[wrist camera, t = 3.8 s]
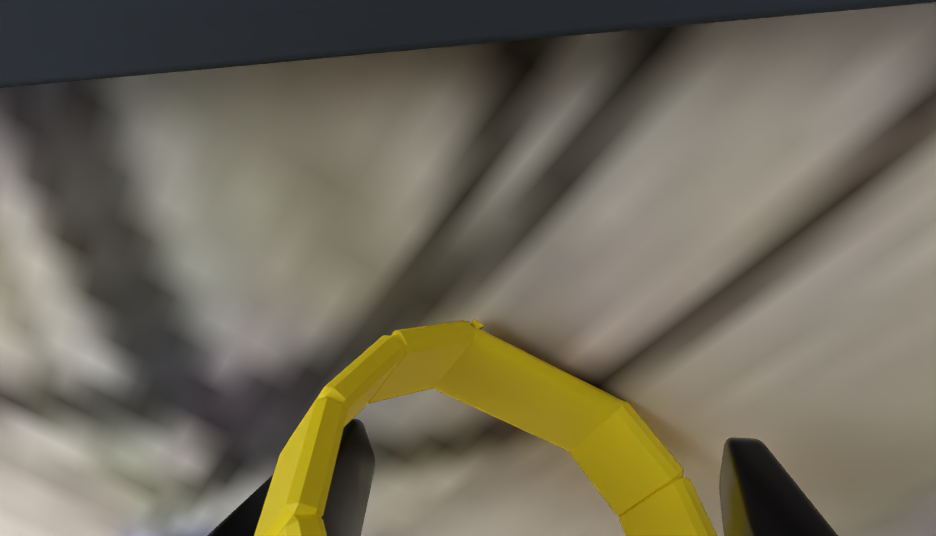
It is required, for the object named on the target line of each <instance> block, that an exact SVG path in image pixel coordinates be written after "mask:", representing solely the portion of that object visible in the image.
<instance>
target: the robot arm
mask: <svg viewBox="0 0 936 536" xmlns="http://www.w3.org/2000/svg"><path fill="white" fill-rule="evenodd" d="M374 467H375V459H374V454H373V450H372V447H371V444H370V441H369V438H368V435H367V432H366V429H365V427H364V424H363V423H362V422H361V421H360V420H357V419H352V420H351V421H350V422H349V423H348V424H347V425H346V426H345V427H344V428H343V433H342V437H341V441H340V446H339V450H338V454H337V458H336V463H335V467H334V471H333V475H332V480H331V484H330V488H329V492H328V497H327V501H326V505H325V509H324V514H323V516H322V517H321V518H322V519H323V521H324V525H325V530H326V534H327V536H361V531H362V526H363V522H364V517H365V512H366V507H367V502H368V498H369V493H370V488H371V483H372V478H373V474H374ZM272 477H273V475H272V476H271V477H270V478H269V479H268V480H267V481H266V482H265V483H264V484H263V485H262V486H260V487H259V488H258V489H257V490H256V491H255V492H254V493H253V494H252V495H251V496H250V497H249V498H247V499H246V500H245V501H244V502H243V503H242V504H241V505H240V506H239V507H238V508H237V509H236V510H234V511H233V512H232V513H231V514H230V515H229V516H228V517H227V518H226V519H225V520H224V521H223V522H221V523H220V524H219V525H218V526H217V527H216V528H215V529H214V530H213V531H212V532H211V533H210V534H209V535H207V536H254V534H255V531H256V528H257V525H258V522H259V518H260V515H261V512H262V509H263V506H264V503H265V500H266V496H267V493H268V490H269V487H270V484H271V481H272ZM719 489H720V500H721V510H722V519H723V528H724V536H838V535H837V534H836V533H835V531H834V530H833V529H832V528H831V526H830V525H829V524H828V523H827V521H826V520H825V519H824V518H823V516H822V515H821V514H820V513H819V512H818V510H817V509H816V508H815V507H814V505H813V504H812V503H811V502H810V500H809V499H808V498H807V497H806V495H805V494H804V493H803V492H802V490H801V489H800V488H799V487H798V485H797V484H796V483H795V482H794V480H793V479H792V478H791V477H790V475H789V474H788V473H787V472H786V470H785V469H784V468H783V467H782V465H781V464H780V463H779V462H778V460H777V459H776V458H775V457H774V456H773V454H772V453H771V452H770V451H769V449H768V448H767V447H766V446H765V444H764V443H763V442H761V441H760V440H758V439H753V438H728V439H727V440H726V442H725V444H724V450H723V457H722V464H721V471H720V481H719Z"/></svg>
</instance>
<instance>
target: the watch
mask: <svg viewBox="0 0 936 536" xmlns="http://www.w3.org/2000/svg"><path fill="white" fill-rule="evenodd" d="M483 326H484V325H483V324H482V323H480V322H478V321H476V320H475V319H474V320H473V322H472V323H471V324H470V323H469V322H468V321H463V320H462V321H455V322H448V323H441V324H434V325H427V326H420V327H413V328H406V329H400V330H394V332H393V333H392V335H391V336H387V335H383V336H382V337H381V338H379V339H378V340H377V341H376V342H375V343H374V344H373V345H371V346H370V347H369V348H368V349H367V350H366V351H365V352H363V353H362V354H361V355H360V356H359V357H358V358H357V359H355V360H354V361H353V362H352V363H351V364H350V365H349V366H347V367H346V368H345V369H344V370H343V371H342V372H341V373H339V374H338V375H337V376H336V377H335V378H334V379H333V380H331V381H330V382H329V383H328V384H327V385H326V386H325V387H324V388H323V389H322V391H321V392H320V394H319V395H318V397H317V398H316V400H315V401H314V403H313V404H312V406H311V407H310V409H309V410H308V412H307V413H306V415H305V416H304V418H303V419H302V421H301V422H300V424H299V425H298V427H297V428H296V430H295V431H294V433H293V434H292V436H291V437H290V439H289V441H288V442H287V444H286V445H285V447H284V448H283V450H282V451H281V453H280V455H279V459H278V462H277V465H276V468H275V471H274V474H273V477H272V481H271V484H270V487H269V490H268V493H267V496H266V500H265V503H264V506H263V509H262V512H261V515H260V518H259V522H258V525H257V528H256V531H255V534H254V536H327V534H326V530H325V525H324V521H323V519H322V518H321V517H322V516H323V514H324V509H325V505H326V501H327V497H328V492H329V488H330V484H331V480H332V475H333V471H334V467H335V463H336V458H337V454H338V450H339V446H340V441H341V437H342V433H343V428H344V427H345V426H346V425H347V424H348V423H349V422H350V421H351V420H352V419H353V418H354V417H355V416H356V415H357V414H358V413H359V412H360V411H361V410H362V409H363V408H364V407H365V406H366V405H367V403H373V402H377V401H381V400H385V399H390V398H394V397H398V396H402V395H406V394H411V393H415V392H419V391H423V390H427V389H432V388H433V389H435V390H437V391H440V392H442V393H444V394H446V395H448V396H450V397H453V398H455V399H457V400H459V401H461V402H463V403H466V404H468V405H470V406H472V407H474V408H476V409H479V410H481V411H483V412H485V413H487V414H489V415H491V416H494V417H496V418H498V419H500V420H502V421H504V422H507V423H509V424H511V425H513V426H515V427H517V428H520V429H522V430H524V431H526V432H528V433H530V434H533V435H535V436H537V437H539V438H541V439H543V440H545V441H548V442H550V443H552V444H554V445H556V446H558V447H561V448H563V449H565V450H567V451H568V452H569V453H570V454H571V456H572V457H573V458H574V460H575V461H576V462H577V464H578V465H579V466H580V468H581V469H582V470H583V471H584V473H585V474H586V475H587V477H588V478H589V479H590V481H591V482H592V483H593V485H594V486H595V487H596V489H597V490H598V491H599V492H600V494H601V495H602V496H603V498H604V499H605V500H606V502H607V503H608V504H609V506H610V507H611V508H612V510H613V511H614V512H615V514H616V515H618V516H620V517H619V520H620V523H621V525H622V528H623V530H624V533H625V535H626V536H717V534H716V532H715V530H714V528H713V526H712V524H711V522H710V520H709V518H708V516H707V514H706V511H705V509H704V507H703V505H702V503H701V501H700V499H699V497H698V495H697V493H696V491H695V489H694V487H693V485H692V482H691V480H690V479H687V478H685V477H683V468H682V467H681V466H680V464H679V463H678V462H677V461H676V460H675V458H674V457H673V456H672V455H671V454H670V452H669V451H668V450H667V449H666V447H665V446H664V445H663V444H662V443H661V441H660V440H659V439H658V438H657V437H656V435H655V434H654V433H653V432H652V431H651V429H650V428H649V427H648V426H647V424H646V423H645V422H644V421H643V420H642V418H641V417H640V416H639V415H638V414H637V412H636V411H635V410H634V409H633V408H632V406H631V405H630V404H629V403H628V402H626V401H623V400H621V399H619V398H617V397H615V396H613V395H611V394H609V393H607V392H604V391H602V390H600V389H598V388H596V387H594V386H592V385H590V384H588V383H586V382H584V381H582V380H580V379H578V378H576V377H574V376H572V375H570V374H568V373H566V372H564V371H562V370H560V369H558V368H556V367H554V366H552V365H550V364H548V363H546V362H544V361H542V360H540V359H538V358H536V357H534V356H532V355H530V354H528V353H526V352H525V351H523V350H521V349H519V348H517V347H515V346H513V345H511V344H509V343H507V342H505V341H503V340H501V339H499V338H497V337H495V336H493V335H491V334H489V333H487V332H485V331H483V330H481V328H482V327H483Z"/></svg>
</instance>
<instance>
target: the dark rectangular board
mask: <svg viewBox="0 0 936 536" xmlns="http://www.w3.org/2000/svg"><path fill="white" fill-rule="evenodd" d="M932 2H936V0H0V88H4V87H15V86H26V85H37V84H48V83H59V82H69V81H80V80H91V79H102V78H113V77H124V76H135V75H146V74H157V73H168V72H179V71H190V70H200V69H211V68H222V67H233V66H244V65H255V64H266V63H277V62H288V61H299V60H310V59H321V58H331V57H342V56H353V55H364V54H375V53H386V52H397V51H408V50H419V49H430V48H441V47H452V46H463V45H473V44H484V43H495V42H506V41H517V40H528V39H539V38H550V37H561V36H572V35H583V34H594V33H604V32H615V31H626V30H637V29H648V28H659V27H670V26H681V25H692V24H703V23H714V22H725V21H735V20H746V19H757V18H768V17H779V16H790V15H801V14H812V13H823V12H834V11H845V10H856V9H866V8H877V7H888V6H899V5H910V4H921V3H932Z"/></svg>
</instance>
